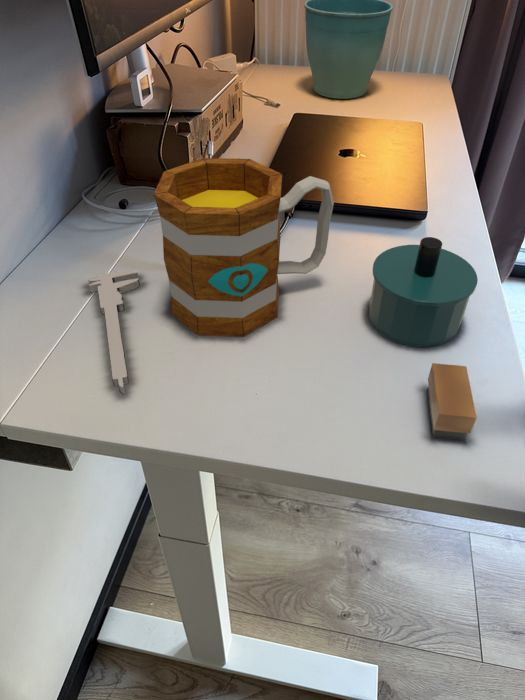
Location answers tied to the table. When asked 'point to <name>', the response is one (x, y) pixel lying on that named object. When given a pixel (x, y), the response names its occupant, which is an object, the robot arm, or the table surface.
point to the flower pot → (344, 44)
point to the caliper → (115, 316)
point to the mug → (230, 242)
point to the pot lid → (425, 274)
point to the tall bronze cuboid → (450, 401)
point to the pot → (414, 319)
